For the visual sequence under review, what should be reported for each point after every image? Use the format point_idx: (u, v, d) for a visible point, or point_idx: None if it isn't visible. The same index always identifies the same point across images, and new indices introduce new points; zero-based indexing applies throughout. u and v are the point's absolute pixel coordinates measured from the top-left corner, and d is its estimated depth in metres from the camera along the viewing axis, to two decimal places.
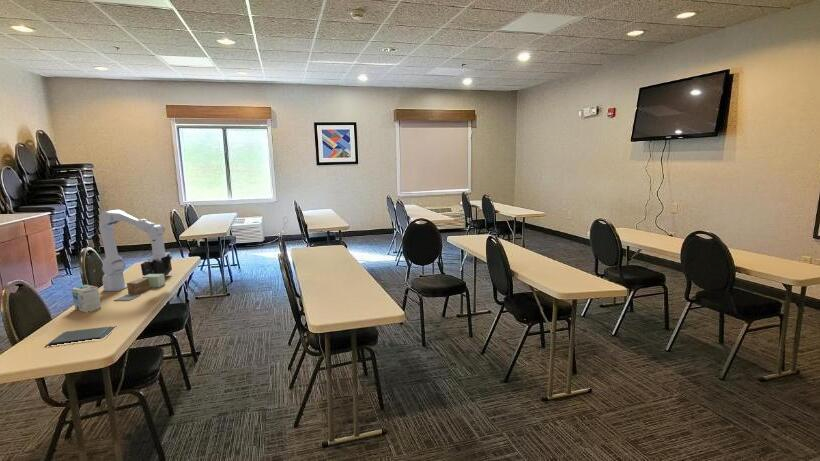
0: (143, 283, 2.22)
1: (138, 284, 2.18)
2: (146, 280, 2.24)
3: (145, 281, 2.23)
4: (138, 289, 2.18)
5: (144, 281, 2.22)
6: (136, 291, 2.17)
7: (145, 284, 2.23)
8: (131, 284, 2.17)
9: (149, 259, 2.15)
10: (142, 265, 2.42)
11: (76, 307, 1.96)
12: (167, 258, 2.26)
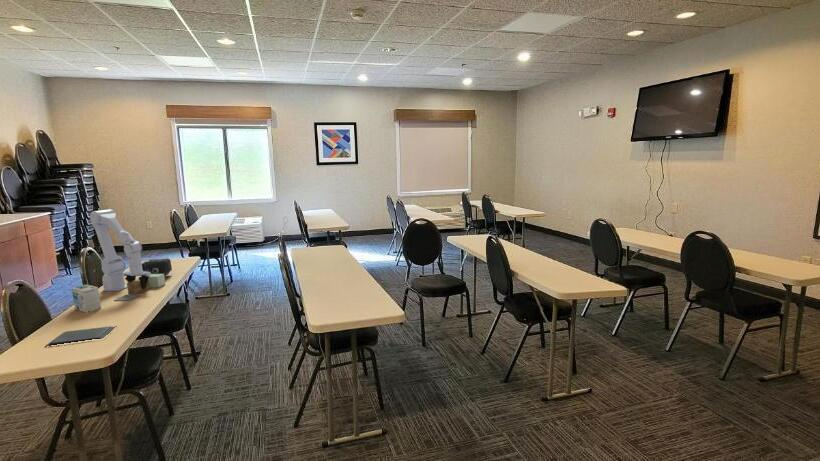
0: None
1: (138, 284, 2.18)
2: None
3: None
4: (138, 289, 2.18)
5: None
6: (136, 291, 2.17)
7: None
8: (131, 284, 2.17)
9: None
10: (142, 265, 2.42)
11: (76, 307, 1.96)
12: None
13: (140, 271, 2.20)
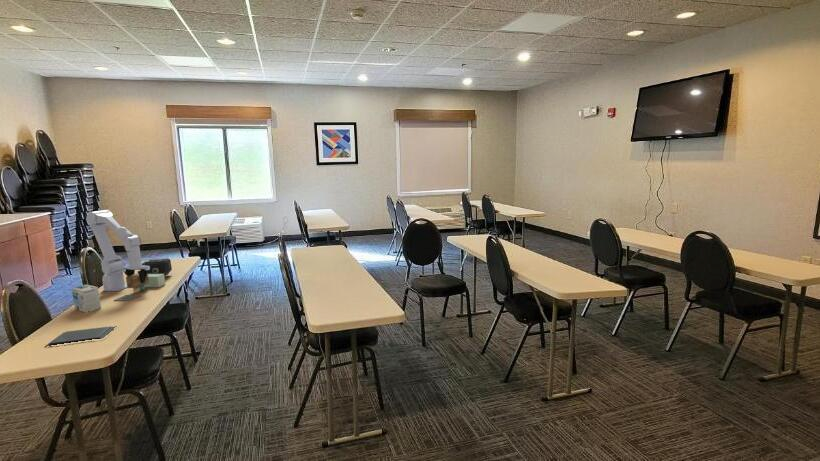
0: None
1: (137, 278, 2.18)
2: None
3: None
4: (137, 283, 2.18)
5: None
6: (135, 285, 2.17)
7: None
8: (130, 278, 2.16)
9: None
10: None
11: (76, 307, 1.96)
12: None
13: (139, 265, 2.19)
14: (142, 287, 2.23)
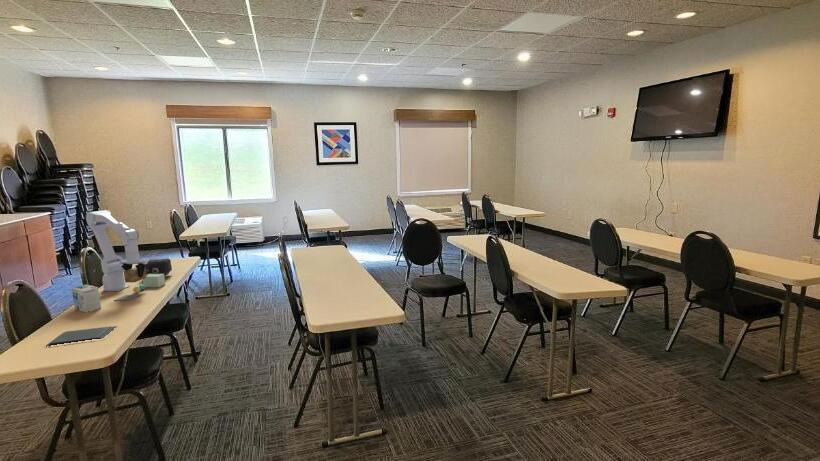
0: None
1: (135, 272, 2.15)
2: None
3: None
4: (135, 277, 2.16)
5: None
6: (133, 279, 2.15)
7: None
8: (128, 272, 2.14)
9: None
10: None
11: (76, 307, 1.96)
12: None
13: (137, 259, 2.17)
14: (142, 287, 2.23)
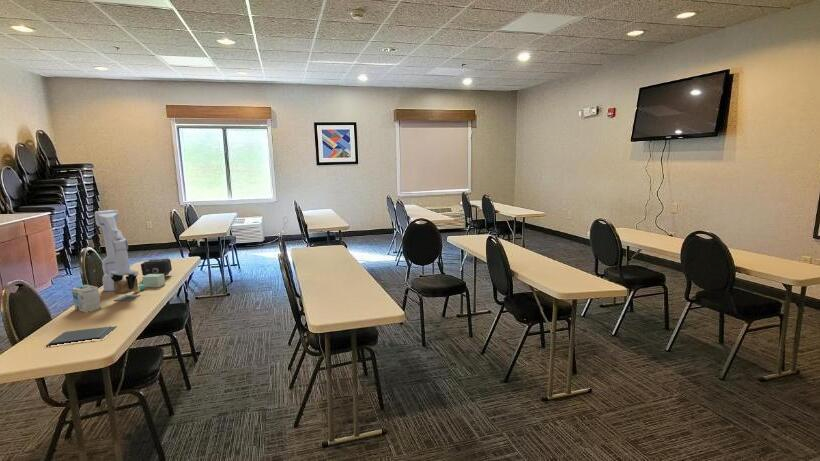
0: None
1: (125, 284, 2.07)
2: None
3: None
4: (126, 289, 2.07)
5: None
6: (123, 291, 2.06)
7: None
8: (118, 284, 2.06)
9: None
10: (142, 265, 2.42)
11: (76, 307, 1.96)
12: None
13: (127, 270, 2.08)
14: (142, 287, 2.23)
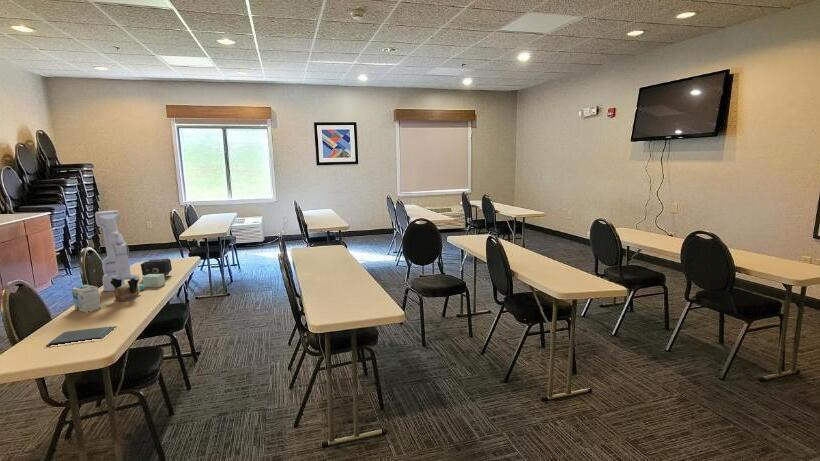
0: None
1: (126, 290, 2.07)
2: None
3: None
4: (126, 295, 2.08)
5: None
6: (124, 297, 2.07)
7: None
8: (119, 290, 2.06)
9: None
10: (142, 265, 2.42)
11: (76, 307, 1.96)
12: None
13: (128, 274, 2.08)
14: (142, 287, 2.23)
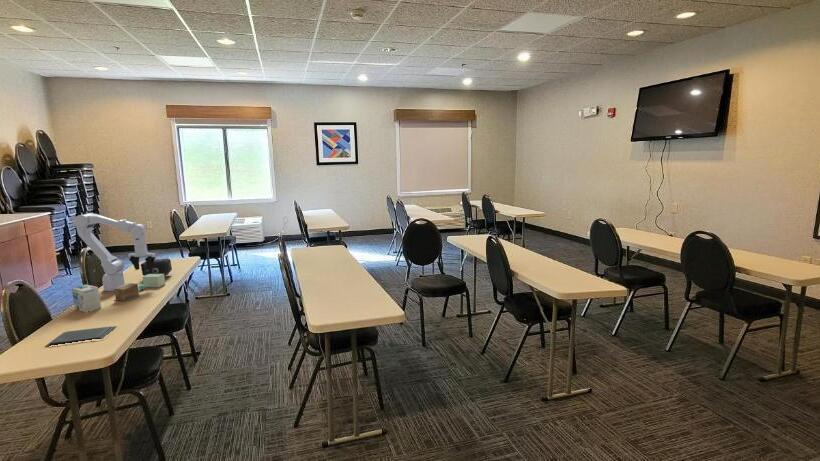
0: (131, 289, 2.11)
1: (126, 290, 2.07)
2: (135, 285, 2.13)
3: (134, 287, 2.12)
4: (126, 295, 2.08)
5: (133, 287, 2.12)
6: (124, 297, 2.07)
7: (134, 290, 2.12)
8: (119, 290, 2.06)
9: None
10: (142, 265, 2.42)
11: (76, 307, 1.96)
12: None
13: (145, 252, 2.26)
14: (142, 287, 2.23)
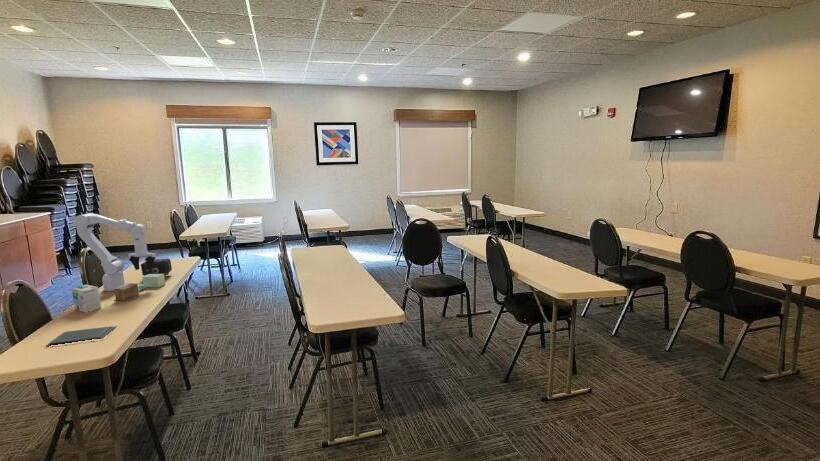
0: (131, 289, 2.11)
1: (126, 290, 2.07)
2: (135, 285, 2.13)
3: (134, 287, 2.12)
4: (126, 295, 2.08)
5: (133, 287, 2.12)
6: (124, 297, 2.07)
7: (134, 290, 2.12)
8: (119, 290, 2.06)
9: None
10: (142, 265, 2.42)
11: (76, 307, 1.96)
12: None
13: (145, 252, 2.26)
14: (142, 287, 2.23)
